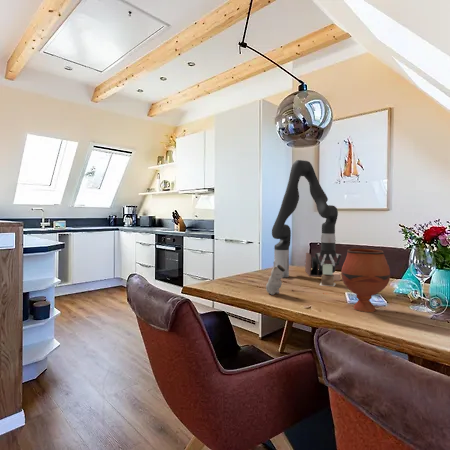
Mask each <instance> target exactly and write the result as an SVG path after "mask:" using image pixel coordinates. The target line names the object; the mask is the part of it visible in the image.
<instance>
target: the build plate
mask: <svg viewBox="0 0 450 450" xmlns="http://www.w3.org/2000/svg"><path fill="white" fill-rule="evenodd" d="M336 283H337V282H334V284H333V286H332V287H335V286H336ZM319 286H327V287H331V286H330V285H322V281H320V283H319Z"/></svg>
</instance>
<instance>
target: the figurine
mask: <svg viewBox="0 0 450 450" xmlns="http://www.w3.org/2000/svg"><path fill="white" fill-rule="evenodd" d="M284 271H285V269H284V268H283V267H282V266H281V265H277V267H274V268H272V269H271V271H270V274H271V275H270V276H269V278H268V279H267V280H268V282H267V283H266V284H265V289H266V292H267V293H268V294H270V295H272V296H275V294H277V295H278V294H280V289H281V287H282V279H283V278H284V277H283V272H284Z"/></svg>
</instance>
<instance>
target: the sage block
mask: <svg viewBox="0 0 450 450" xmlns="http://www.w3.org/2000/svg"><path fill="white" fill-rule="evenodd" d="M332 270H333V264H332V263H324V264H323V274H330V275H332V274H333V273H332Z"/></svg>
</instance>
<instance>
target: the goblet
mask: <svg viewBox="0 0 450 450" xmlns="http://www.w3.org/2000/svg"><path fill="white" fill-rule="evenodd" d="M388 263H389V262H388V261H387V259H386V256H385V252H384V251H383V250H381V249H372V248H359V247H358V248H349V249H347V253H346V257H345V260H344V262H343V265H342V266H341V271H340V274H341V279H342V282H343V284H344V285H345V287H347V289H348V290H349V291H351V293H353V294H355V295H356V299H357V301H356V303H355V304H354V305H353V308H352V309H354V310H355V309H356V311H358V310H359V312H362V311H364V312H365V313H373V312H375V311H376V308H375V305H374V304H373V303H372V302H371V301H370V300H371V299H372V296H374V295H376V294H379V293H380V292H382V291H383V290H384V289H385V288H387V286H388V284H389V282H390V279H391V270H390V266H389V264H388Z"/></svg>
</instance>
